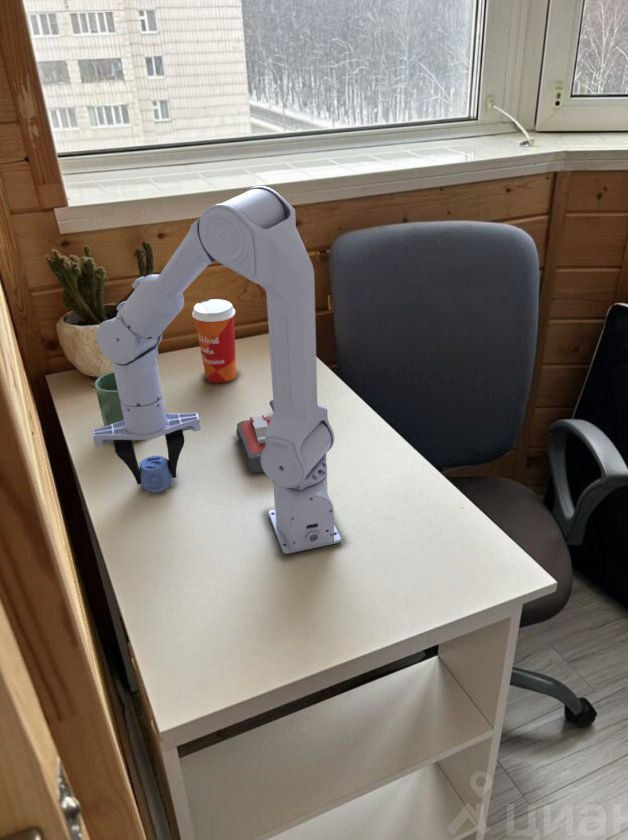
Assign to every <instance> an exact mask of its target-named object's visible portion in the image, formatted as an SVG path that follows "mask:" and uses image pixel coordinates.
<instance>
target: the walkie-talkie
mask: <svg viewBox="0 0 628 840" xmlns="http://www.w3.org/2000/svg"><path fill="white" fill-rule="evenodd" d="M269 406H270V408H271V410H272V413H274V405H273V399H271V400H270V401H269ZM271 419H272V416H265V415H256V416H255V415H254V416H250V417H249V419H246V420H241V421H240V422H238V423H236V429H235V431H236V436H237V439H238V441H239V444H240V447H241V449H242V452H243V456H244V458H245V460H246V462H247V466H248V468H249V471H250V472H252V473H255V474H257V473H263V472H264V471H263V469H262V466H261V454H262V452H263V450H264V448H265V445H266V437H265V435H266V432H267V429H268V426H269V424H270V421H271Z"/></svg>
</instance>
